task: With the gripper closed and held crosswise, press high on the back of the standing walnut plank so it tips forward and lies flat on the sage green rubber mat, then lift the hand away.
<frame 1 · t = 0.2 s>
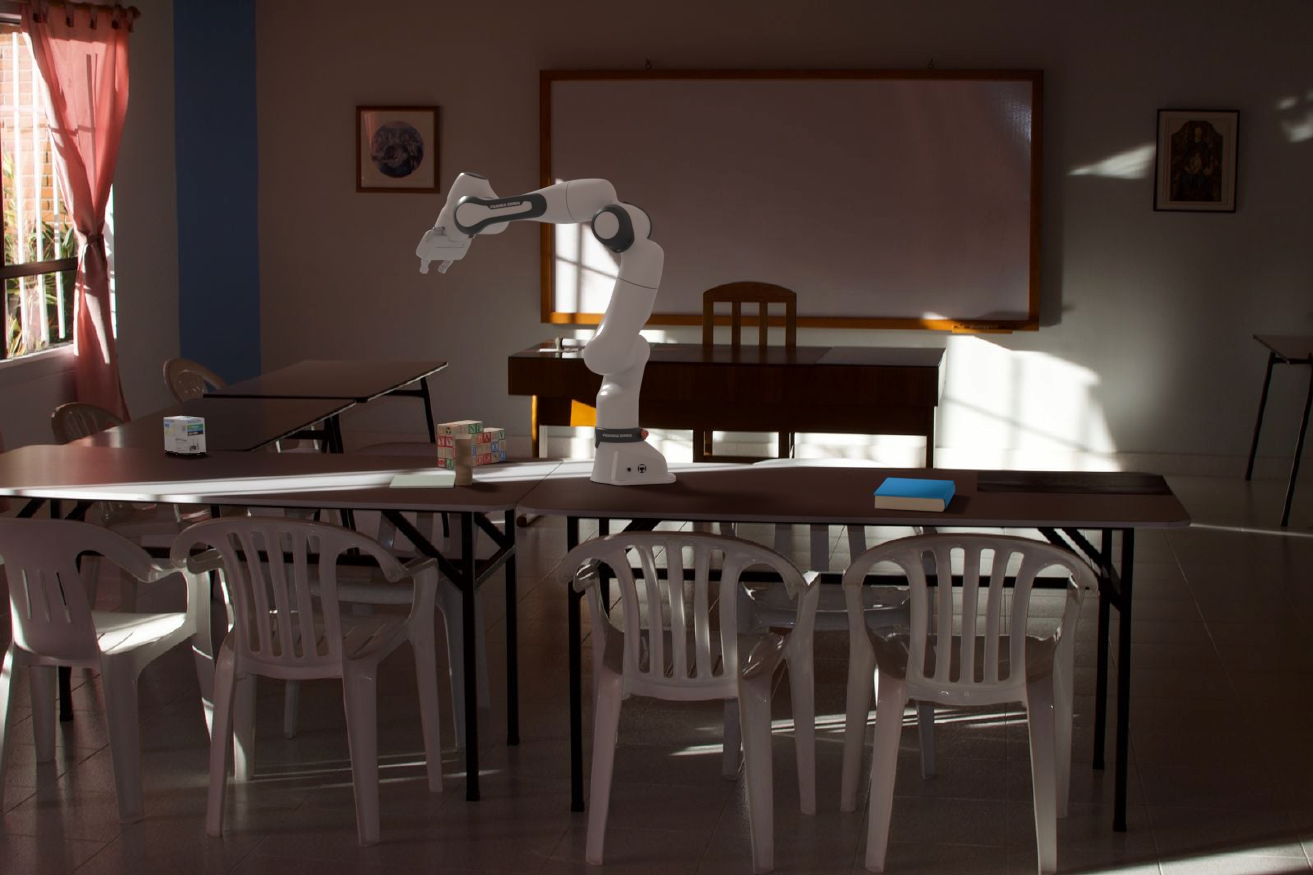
hand: (432, 272, 400), 54 cm above the table, tool tilted 30°, fingers open, 8 cm apart
light bulb box: (185, 454, 432), on the table
mat: (423, 482, 381), on the table
stack of blocks: (472, 465, 414), on the table
book: (915, 503, 355), on the table
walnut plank: (464, 482, 382), on the table
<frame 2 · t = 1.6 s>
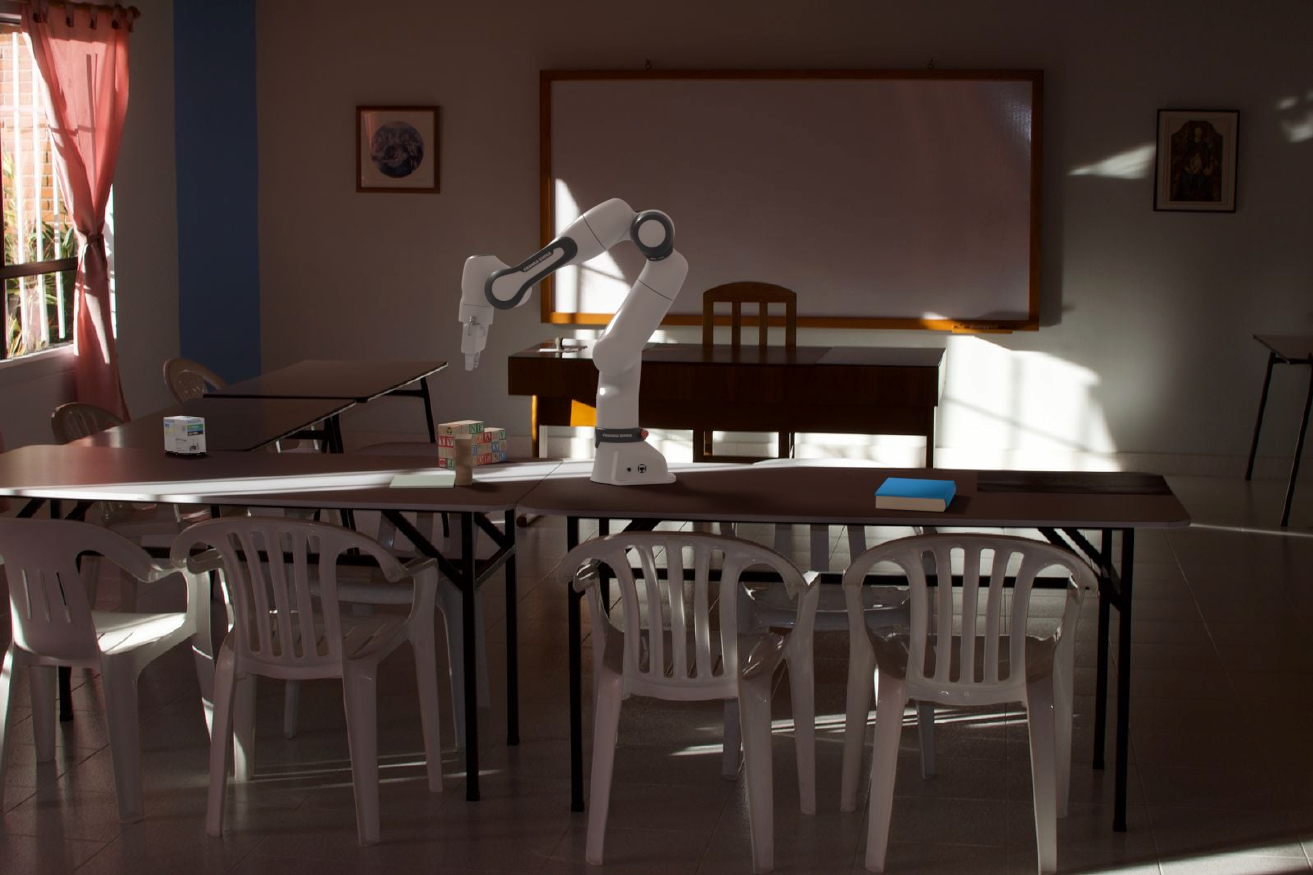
hand: (471, 369, 382), 29 cm above the table, tool pointing down, fingers open, 8 cm apart
nothing on the table moved.
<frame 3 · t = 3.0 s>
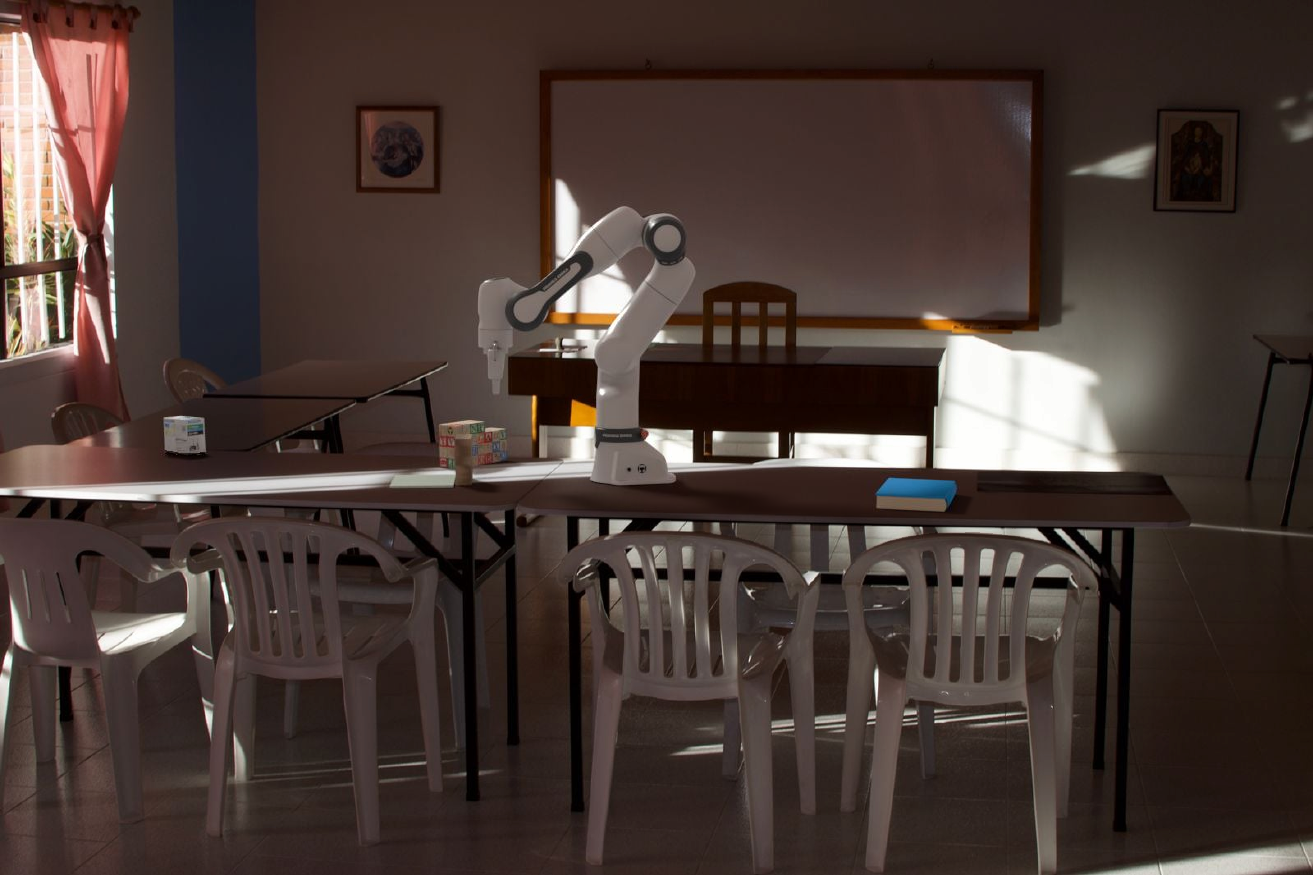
hand: (496, 393, 380), 23 cm above the table, tool pointing down, fingers closed
nothing on the table moved.
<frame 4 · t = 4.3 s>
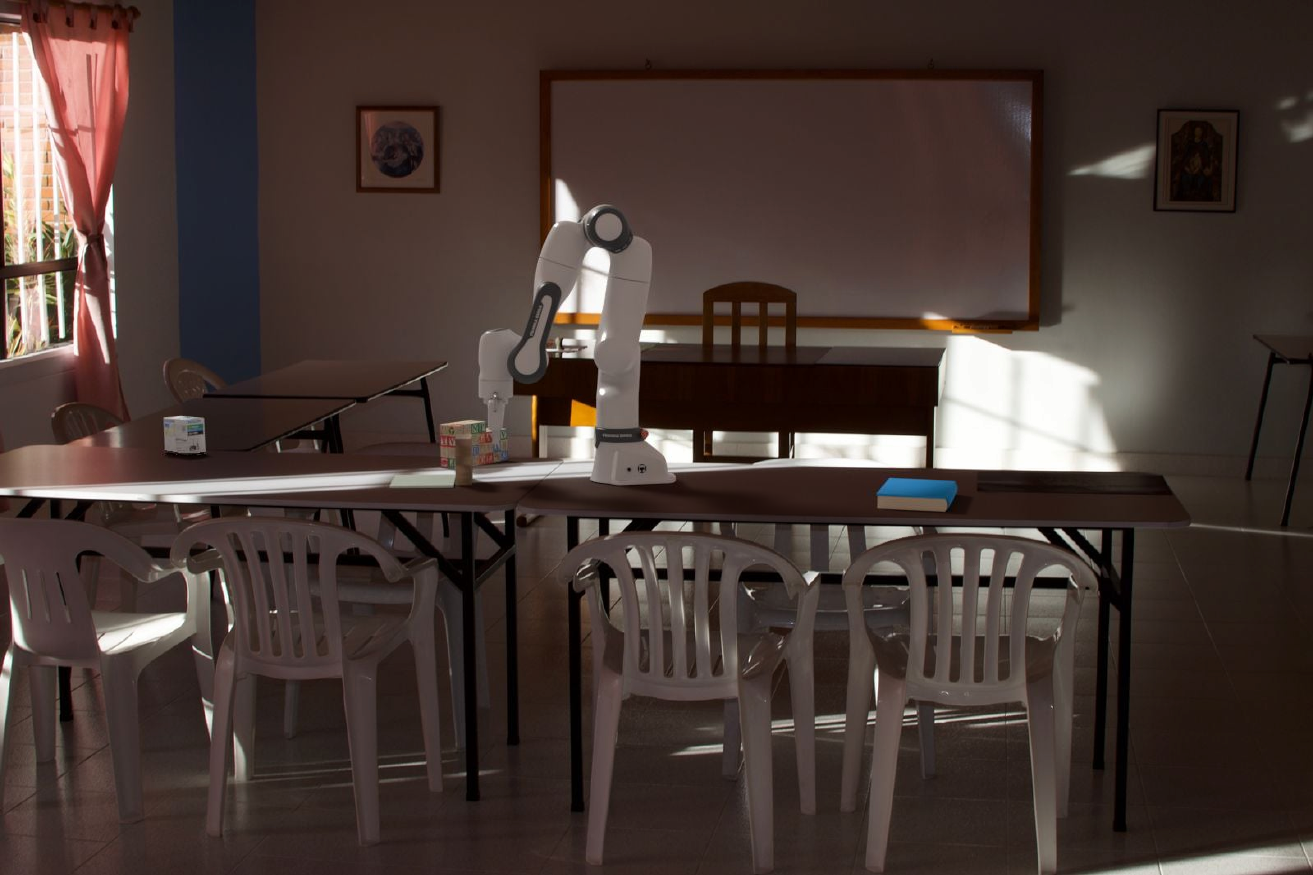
hand: (495, 443, 381), 10 cm above the table, tool pointing down, fingers closed
nothing on the table moved.
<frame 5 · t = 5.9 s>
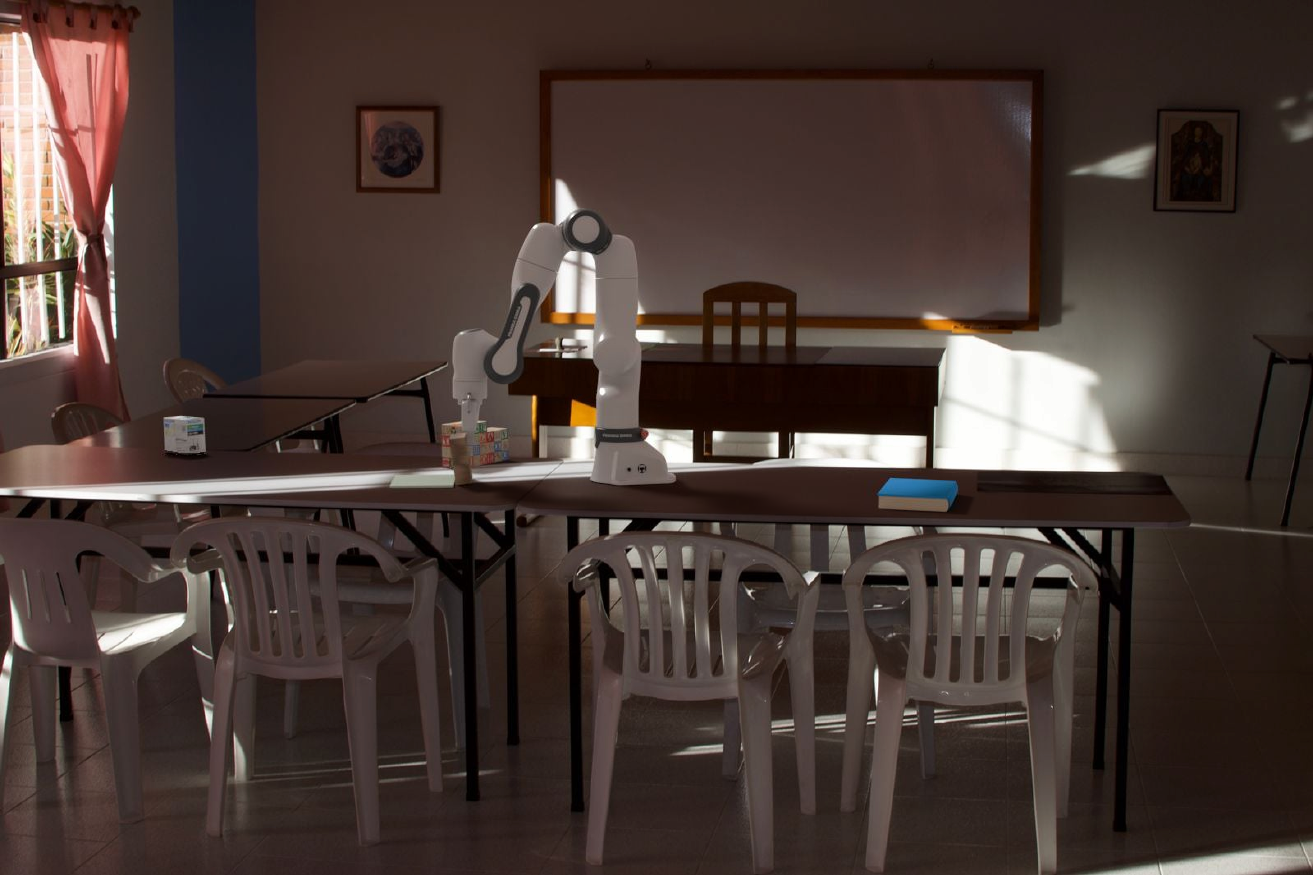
hand: (470, 444, 381), 10 cm above the table, tool pointing down, fingers closed
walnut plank: (464, 481, 382), on the table, tilted 7°
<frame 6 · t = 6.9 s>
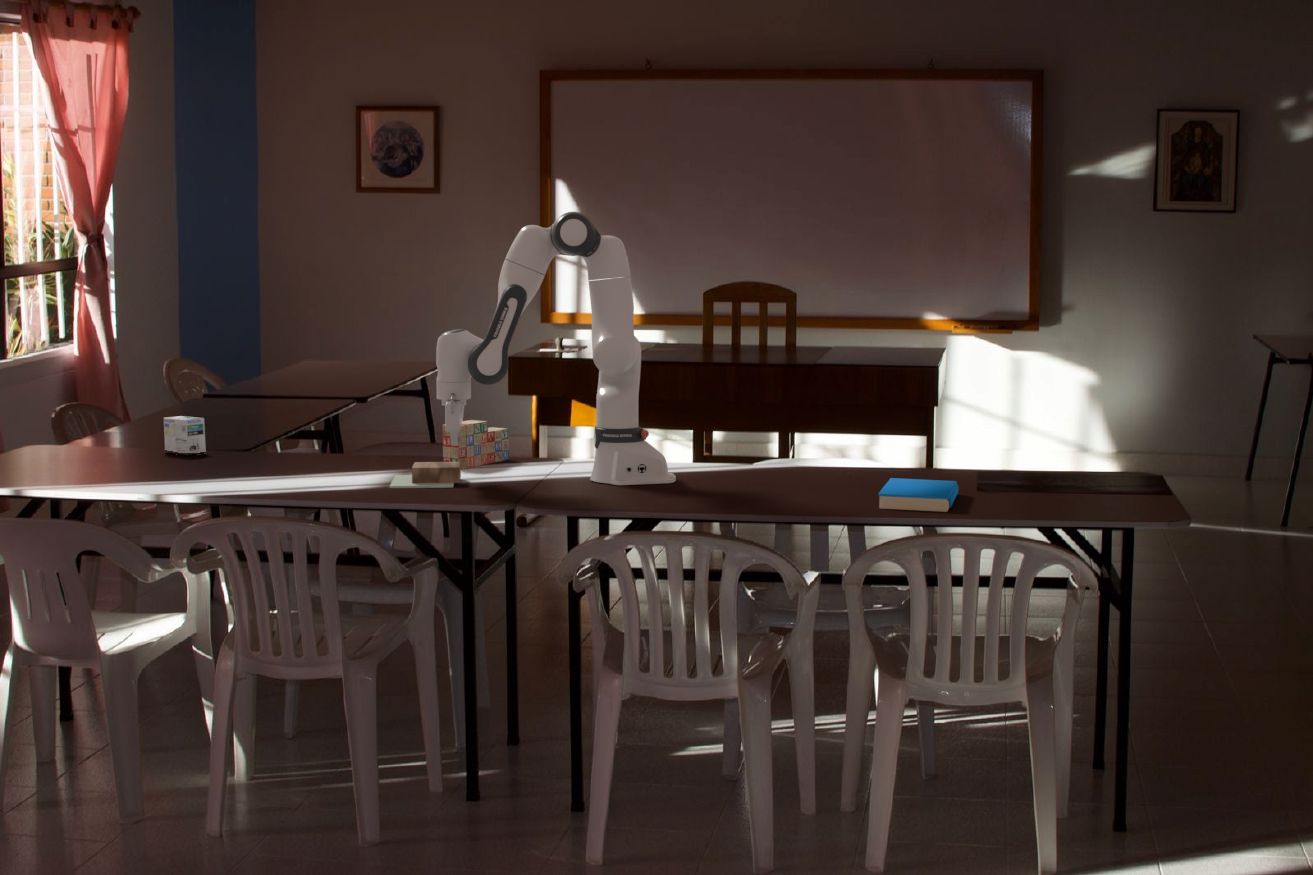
hand: (454, 445, 380), 10 cm above the table, tool pointing down, fingers closed
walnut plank: (459, 472, 381), point 3 cm above the table, tilted 90°, touching mat
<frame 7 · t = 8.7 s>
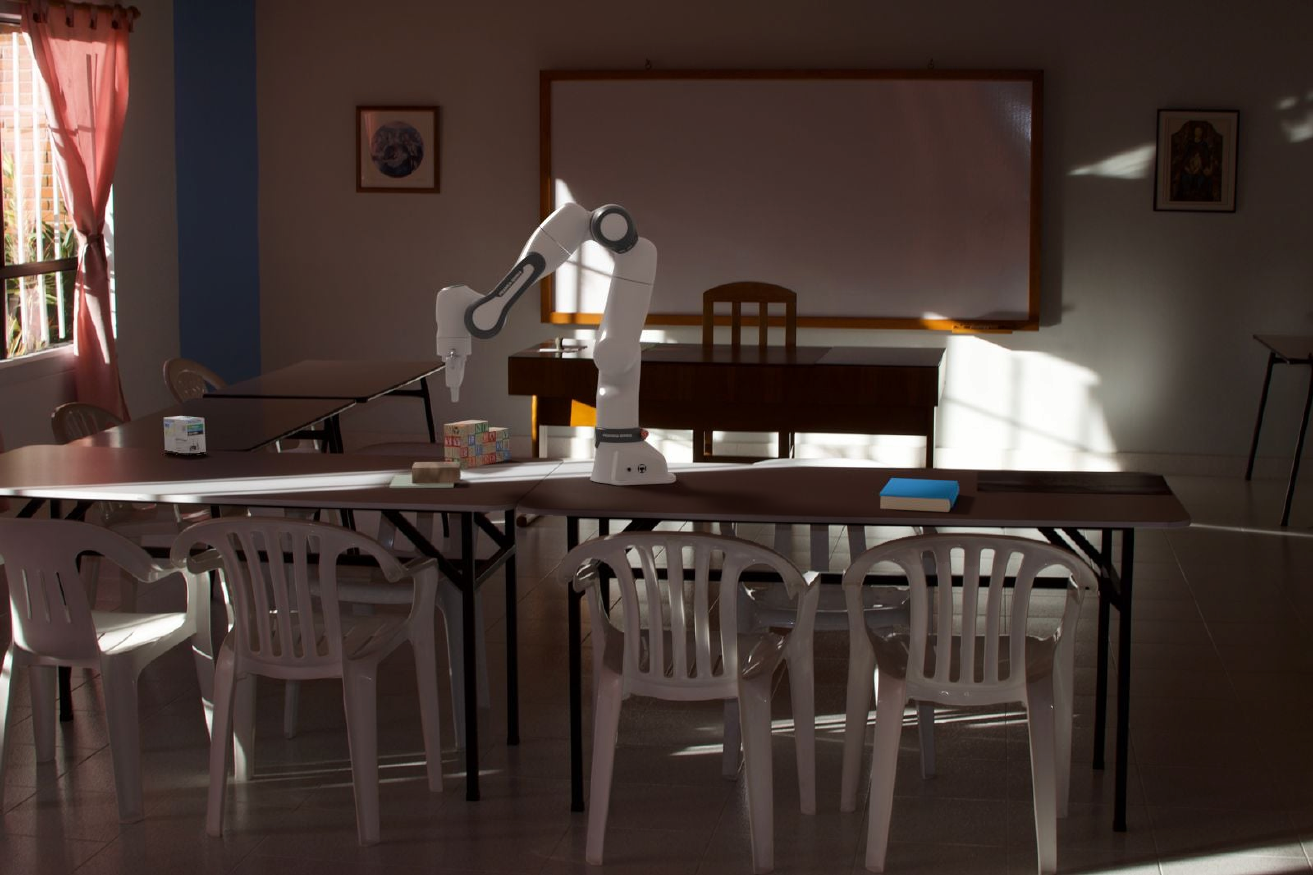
hand: (455, 401, 379), 21 cm above the table, tool pointing down, fingers closed
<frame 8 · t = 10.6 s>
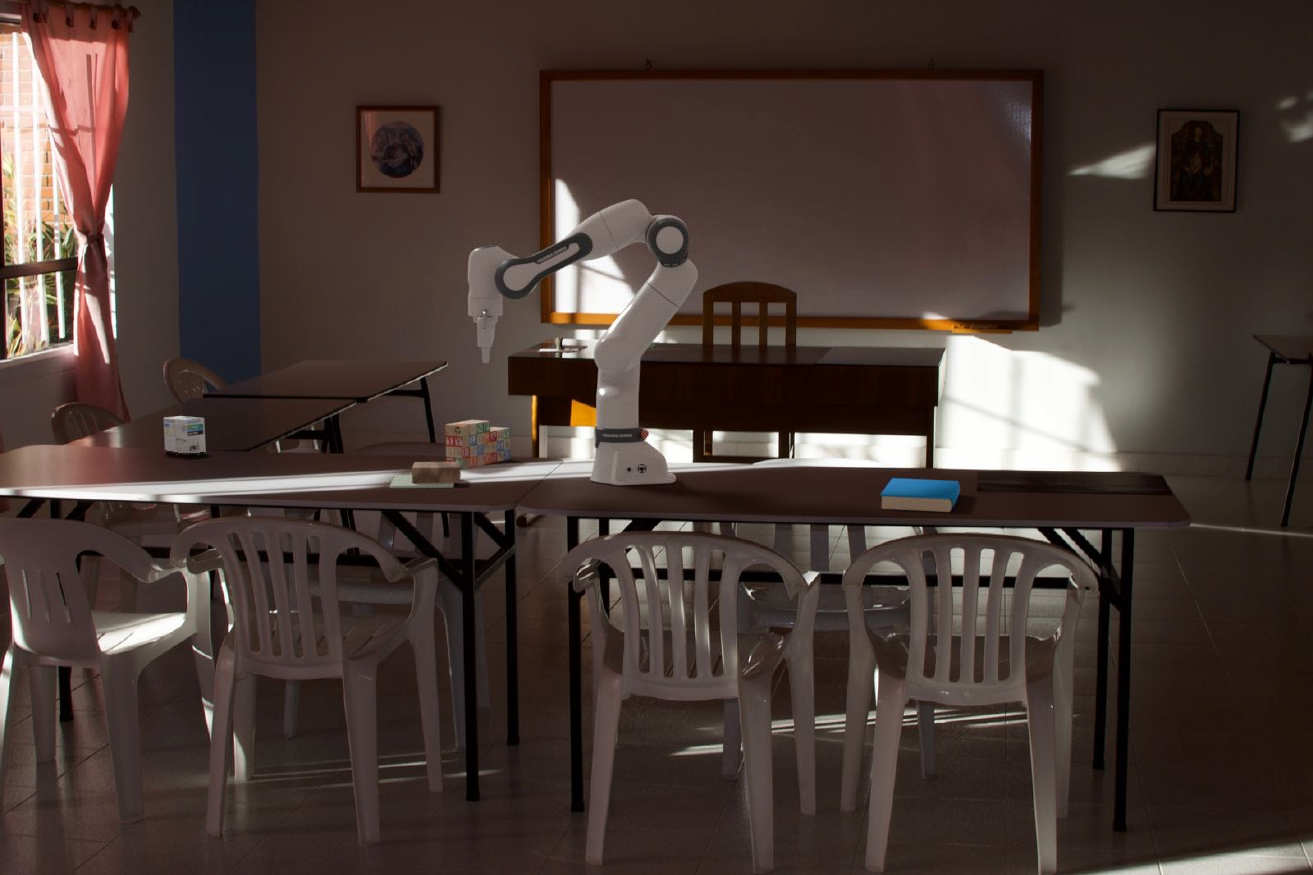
hand: (486, 362, 378), 31 cm above the table, tool pointing down, fingers closed
at the end: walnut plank tilted 90°; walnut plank touching mat; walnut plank inside the target area (5.9 cm from its centre), point 2.6 cm above the table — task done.
